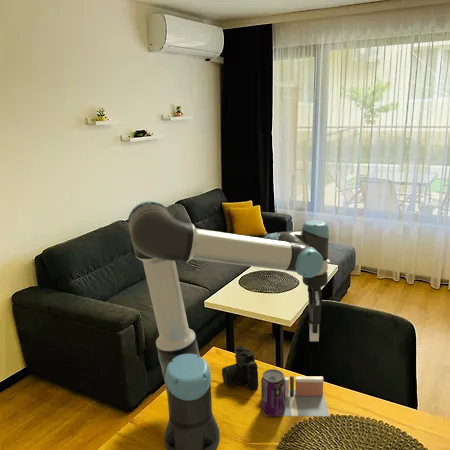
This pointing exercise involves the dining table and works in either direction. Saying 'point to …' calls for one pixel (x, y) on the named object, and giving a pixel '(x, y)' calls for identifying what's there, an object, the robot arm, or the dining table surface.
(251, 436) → the dining table surface
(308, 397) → the mat
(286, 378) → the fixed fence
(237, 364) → the camera
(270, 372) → the beverage can
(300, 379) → the cream pink flat block
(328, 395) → the dining table surface
